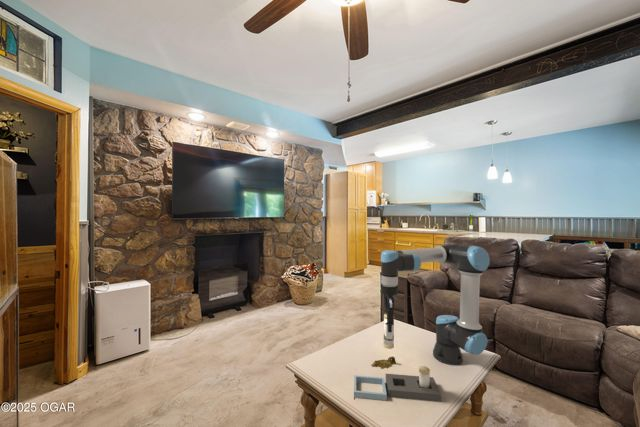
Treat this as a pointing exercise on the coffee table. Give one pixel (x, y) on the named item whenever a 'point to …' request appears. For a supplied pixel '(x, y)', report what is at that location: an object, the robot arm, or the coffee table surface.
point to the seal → (384, 363)
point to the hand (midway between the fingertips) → (388, 335)
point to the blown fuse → (387, 342)
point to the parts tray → (370, 394)
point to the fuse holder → (411, 388)
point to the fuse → (424, 377)
